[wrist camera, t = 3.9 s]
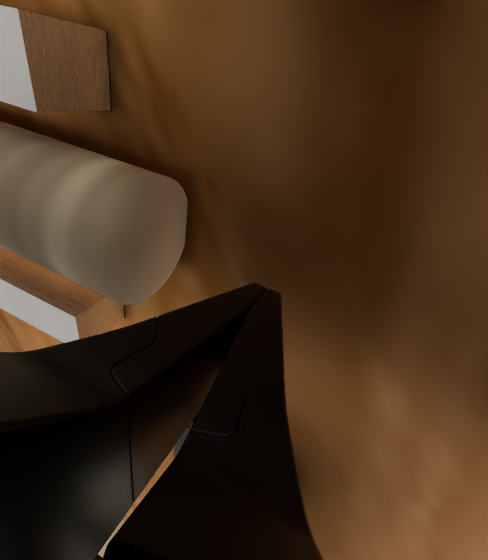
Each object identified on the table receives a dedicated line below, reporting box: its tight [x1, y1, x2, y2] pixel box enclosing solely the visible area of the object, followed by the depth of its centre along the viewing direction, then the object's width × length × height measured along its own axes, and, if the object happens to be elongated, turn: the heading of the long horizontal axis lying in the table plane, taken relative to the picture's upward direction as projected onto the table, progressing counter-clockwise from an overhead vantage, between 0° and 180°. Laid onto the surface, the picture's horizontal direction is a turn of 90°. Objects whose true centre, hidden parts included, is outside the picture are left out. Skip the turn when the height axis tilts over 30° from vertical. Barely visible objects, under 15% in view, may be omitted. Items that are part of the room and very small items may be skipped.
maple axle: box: [0, 121, 188, 305], centre depth 11 cm, size 12×4×4 cm, turn 79°
